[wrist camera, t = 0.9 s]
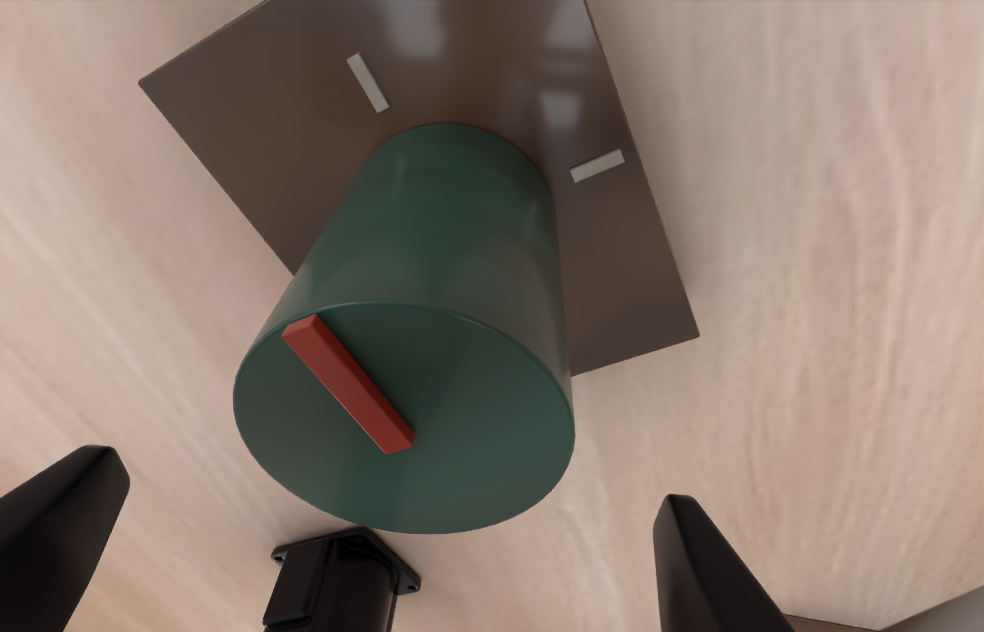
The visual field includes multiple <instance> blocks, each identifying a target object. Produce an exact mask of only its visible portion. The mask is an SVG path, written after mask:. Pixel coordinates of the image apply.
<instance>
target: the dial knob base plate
mask: <svg viewBox="0 0 984 632" xmlns="http://www.w3.org/2000/svg"><path fill="white" fill-rule="evenodd" d="M138 84H139V86H140V87H141V88H142V90H143V91H144V92H145V93H146V95H147V96H148V97H149V98H150V100H151V101H152V102H153V103H154V104H155V106H156V107H157V108H158V109H159V111H160V112H161V113H162V114H163V116H164V117H165V118H166V119H167V120H168V122H169V123H170V124H171V125H172V127H173V128H174V129H175V130H176V132H177V133H178V134H179V135H180V137H181V138H182V139H183V140H184V141H185V143H186V144H187V145H188V146H189V148H190V149H191V150H192V151H193V153H194V154H195V155H196V156H197V157H198V159H199V160H200V161H201V162H202V164H203V165H204V166H205V167H206V169H207V170H208V171H209V172H210V174H211V175H212V176H213V177H214V178H215V180H216V181H217V182H218V183H219V185H220V186H221V187H222V188H223V190H224V191H225V192H226V193H227V194H228V196H229V197H230V198H231V199H232V201H233V202H234V203H235V204H236V206H237V207H238V208H239V209H240V211H241V212H242V213H243V214H244V215H245V217H246V218H247V219H248V220H249V222H250V223H251V224H252V225H253V227H254V228H255V229H256V230H257V231H258V233H259V234H260V235H261V236H262V238H263V239H264V240H265V241H266V243H267V244H268V245H269V246H270V248H271V249H272V250H273V251H274V252H275V254H276V255H277V256H278V257H279V259H280V260H281V261H282V262H283V264H284V265H285V266H286V267H287V268H288V270H289V271H290V272H291V273H292V275H293V276H295V274H296V273H297V271H298V270H299V268H300V266H301V265H302V263H303V261H304V260H305V258H306V257H307V255H308V253H309V252H310V250H311V248H312V247H313V245H314V244H315V242H316V240H317V239H318V237H319V235H320V234H321V232H322V231H323V229H324V227H325V226H326V224H327V223H328V221H329V219H330V218H331V216H332V214H333V213H334V211H335V210H336V208H337V206H338V205H339V203H340V201H341V200H342V198H343V197H344V195H345V193H346V192H347V190H348V189H349V187H350V185H351V184H352V182H353V180H354V179H355V177H356V176H357V174H358V172H359V171H360V169H361V168H362V166H363V165H364V163H365V162H366V160H367V159H368V158H369V157H370V156H371V155H372V153H373V152H374V151H375V150H376V149H378V148H379V147H380V146H381V145H383V144H384V143H385V142H386V141H388V140H390V139H391V138H393V137H395V136H396V135H398V134H401V133H403V132H405V131H408V130H410V129H414V128H418V127H421V126H425V125H434V124H458V125H465V126H471V127H475V128H478V129H481V130H485V131H487V132H490V133H492V134H494V135H497V136H499V137H501V138H502V139H504V140H506V141H507V142H509V143H511V144H512V145H513V146H515V147H516V148H517V149H519V150H520V151H521V152H522V153H524V154H525V155H526V157H527V158H528V159H529V160H530V161H531V162H532V163H533V164H534V165H535V166H536V168H537V169H538V171H539V172H540V173H541V175H542V176H543V178H544V180H545V182H546V184H547V186H548V187H549V190H550V193H551V196H552V198H553V202H554V207H555V211H556V222H557V233H558V244H559V255H560V266H561V277H562V288H563V299H564V310H565V321H566V332H567V343H568V354H569V365H570V376H571V377H572V376H575V375H579V374H582V373H585V372H588V371H592V370H595V369H598V368H601V367H604V366H608V365H611V364H614V363H617V362H621V361H624V360H627V359H630V358H633V357H637V356H640V355H643V354H646V353H650V352H653V351H656V350H659V349H663V348H666V347H669V346H672V345H675V344H679V343H682V342H685V341H688V340H692V339H695V338H698V337H700V333H699V330H698V327H697V324H696V321H695V318H694V315H693V312H692V309H691V306H690V303H689V300H688V297H687V294H686V291H685V289H684V286H683V283H682V280H681V277H680V274H679V271H678V268H677V265H676V262H675V259H674V256H673V253H672V250H671V247H670V244H669V242H668V239H667V236H666V233H665V230H664V227H663V224H662V221H661V218H660V215H659V212H658V209H657V206H656V203H655V200H654V198H653V195H652V192H651V189H650V186H649V183H648V180H647V177H646V174H645V171H644V168H643V165H642V162H641V159H640V156H639V153H638V151H637V148H636V145H635V142H634V139H633V136H632V133H631V130H630V127H629V124H628V121H627V118H626V115H625V112H624V109H623V107H622V104H621V101H620V98H619V95H618V92H617V89H616V86H615V83H614V80H613V77H612V74H611V71H610V68H609V65H608V62H607V60H606V57H605V54H604V51H603V48H602V45H601V42H600V39H599V36H598V33H597V30H596V27H595V24H594V21H593V18H592V16H591V13H590V10H589V7H588V4H587V1H586V0H264V1H262V2H261V3H259V4H258V5H256V6H255V7H253V8H251V9H250V10H248V11H247V12H245V13H244V14H242V15H240V16H239V17H237V18H236V19H234V20H233V21H231V22H229V23H228V24H226V25H225V26H223V27H222V28H220V29H218V30H217V31H215V32H214V33H212V34H211V35H209V36H208V37H206V38H204V39H203V40H201V41H200V42H198V43H197V44H195V45H193V46H192V47H190V48H189V49H187V50H186V51H184V52H182V53H181V54H179V55H178V56H176V57H175V58H173V59H171V60H170V61H168V62H167V63H165V64H164V65H162V66H160V67H159V68H157V69H156V70H154V71H153V72H151V73H149V74H148V75H146V76H145V77H143V78H142V79H140V80H139V81H138Z"/></svg>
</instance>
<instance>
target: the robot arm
mask: <svg viewBox="0 0 984 632" xmlns="http://www.w3.org/2000/svg"><path fill="white" fill-rule="evenodd" d="M129 487H130V477H129V474H128V473H127V471H126V469H125V467H124V465H123V463H122V461H121V459H120V457H119V455H118V453H117V451H116V450H115V449H114V448H112V447H110V446H101V445H85V446H82V447H80V448H78V449H77V450H75V451H73V452H72V453H70V454H69V455H67V456H66V457H64V458H62V459H61V460H59V461H58V462H56V463H55V464H53V465H51V466H50V467H48V468H47V469H45V470H44V471H42V472H40V473H39V474H37V475H36V476H34V477H32V478H31V479H29V480H28V481H26V482H25V483H23V484H21V485H20V486H18V487H17V488H15V489H14V490H12V491H10V492H9V493H7V494H6V495H4V496H3V497H1V498H0V632H63V630H64V628H65V627H66V625H67V623H68V621H69V619H70V618H71V616H72V614H73V612H74V610H75V608H76V607H77V605H78V603H79V601H80V599H81V597H82V595H83V594H84V592H85V590H86V588H87V586H88V584H89V582H90V580H91V578H92V576H93V573H94V571H95V569H96V567H97V565H98V562H99V560H100V557H101V555H102V553H103V550H104V548H105V546H106V543H107V541H108V539H109V536H110V534H111V532H112V529H113V527H114V525H115V522H116V520H117V518H118V515H119V513H120V510H121V508H122V506H123V503H124V501H125V499H126V496H127V494H128V491H129ZM653 542H654V553H655V565H656V577H657V588H658V600H659V612H660V622H661V631H662V632H796V630H795V629H794V628H793V626H792V625H791V624H790V623H789V621H788V620H787V619H786V617H785V616H784V615H783V613H782V612H781V611H780V609H779V608H778V607H777V606H776V604H775V603H774V602H773V600H772V599H771V598H770V596H769V595H768V594H767V592H766V591H765V590H764V588H763V587H762V586H761V585H760V583H759V582H758V581H757V579H756V578H755V577H754V575H753V574H752V573H751V571H750V570H749V569H748V568H747V566H746V565H745V564H744V562H743V561H742V560H741V558H740V557H739V556H738V554H737V553H736V552H735V550H734V549H733V548H732V547H731V545H730V544H729V543H728V541H727V540H726V539H725V537H724V536H723V535H722V533H721V532H720V531H719V529H718V528H717V527H716V526H715V524H714V523H713V522H712V520H711V519H710V518H709V516H708V515H707V514H706V512H705V511H704V510H703V509H702V507H701V506H700V505H699V503H698V502H697V501H696V500H695V499H694V498H693V497H691V496H688V495H677V494H668V495H667V496H666V497H665V498H664V500H663V503H662V505H661V507H660V510H659V512H658V514H657V517H656V519H655V522H654V526H653ZM271 559H272V560H273V561H274V562H275V563H277V564H278V565H279V566H280V567H282V568H281V571H280V574H279V576H278V579H277V582H276V584H275V587H274V590H273V593H272V595H271V598H270V601H269V603H268V606H267V609H266V612H265V614H264V617H263V622H262V624H263V625H264V626H265V629H264V632H391V628H392V623H393V618H394V612H395V607H396V601H397V596H398V595H403V594H408V593H413V592H417V591H419V590H420V586H421V580H420V579H419V578H418V577H417V576H416V575H415V574H414V573H413V572H412V571H411V570H410V569H409V568H407V567H406V566H405V565H404V564H403V563H402V562H401V561H400V560H399V559H398V558H397V557H396V556H395V555H394V554H393V553H392V552H391V551H390V550H389V549H388V548H387V547H386V546H385V545H384V544H383V543H381V542H380V541H379V540H378V539H377V538H376V537H375V536H374V535H373V534H372V533H371V532H370V531H369V530H368V529H366V528H363V527H355V528H351V529H347V530H343V531H339V532H336V533H332V534H328V535H324V536H320V537H316V538H312V539H308V540H304V541H300V542H296V543H292V544H289V545H285V546H281V547H277V548H274V550H273V552H272V554H271Z"/></svg>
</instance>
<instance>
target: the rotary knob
mask: <svg viewBox="0 0 984 632" xmlns="http://www.w3.org/2000/svg"><path fill="white" fill-rule="evenodd" d="M233 410H234V415H235V419H236V424H237V427H238V429H239V432H240V434H241V437H242V439H243V441H244V443H245V444H246V446H247V448H248V450H249V451H250V453H251V454H252V456H253V457H254V458H255V459H256V461H257V462H258V463H259V465H260V466H261V467H262V468H263V469H264V470H265V471H266V472H267V473H268V474H269V475H270V476H271V477H272V478H273V479H274V480H275V481H277V482H278V483H279V484H280V485H282V486H283V487H284V488H285V489H286V490H288V491H289V492H291V493H292V494H294V495H295V496H297V497H298V498H300V499H301V500H303V501H305V502H307V503H309V504H310V505H312V506H314V507H316V508H318V509H320V510H322V511H324V512H327V513H329V514H331V515H333V516H336V517H339V518H341V519H344V520H347V521H350V522H353V523H356V524H360V525H364V526H367V527H371V528H376V529H381V530H386V531H392V532H400V533H409V534H448V533H458V532H465V531H471V530H476V529H481V528H484V527H488V526H491V525H495V524H498V523H501V522H503V521H506V520H508V519H511V518H513V517H515V516H517V515H519V514H521V513H523V512H525V511H526V510H528V509H529V508H531V507H532V506H534V505H535V504H537V503H538V502H540V501H541V500H542V499H543V498H544V497H545V496H546V495H547V494H548V493H550V492H551V491H552V489H553V488H554V487H555V486H556V484H557V483H558V482H559V481H560V479H561V478H562V476H563V474H564V472H565V471H566V469H567V467H568V465H569V462H570V459H571V456H572V453H573V450H574V442H575V421H574V410H573V398H572V387H571V376H570V365H569V354H568V343H567V332H566V321H565V310H564V299H563V288H562V277H561V266H560V255H559V244H558V233H557V222H556V211H555V207H554V202H553V198H552V196H551V193H550V190H549V187H548V186H547V184H546V182H545V180H544V178H543V176H542V175H541V173H540V172H539V171H538V169H537V168H536V166H535V165H534V164H533V163H532V162H531V161H530V160H529V159H528V158H527V157H526V155H525V154H524V153H522V152H521V151H520V150H519V149H517V148H516V147H515V146H513V145H512V144H511V143H509V142H507V141H506V140H504V139H502V138H501V137H499V136H497V135H494V134H492V133H490V132H487V131H485V130H481V129H478V128H475V127H471V126H465V125H458V124H434V125H425V126H421V127H418V128H414V129H410V130H408V131H405V132H403V133H401V134H398V135H396V136H395V137H393V138H391V139H390V140H388V141H386V142H385V143H384V144H383V145H381V146H380V147H379V148H378V149H376V150H375V151H374V152H373V153H372V155H371V156H370V157H369V158H368V159H367V160H366V162H365V163H364V165H363V166H362V168H361V169H360V171H359V172H358V174H357V176H356V177H355V179H354V180H353V182H352V184H351V185H350V187H349V189H348V190H347V192H346V193H345V195H344V197H343V198H342V200H341V201H340V203H339V205H338V206H337V208H336V210H335V211H334V213H333V214H332V216H331V218H330V219H329V221H328V223H327V224H326V226H325V227H324V229H323V231H322V232H321V234H320V235H319V237H318V239H317V240H316V242H315V244H314V245H313V247H312V248H311V250H310V252H309V253H308V255H307V257H306V258H305V260H304V261H303V263H302V265H301V266H300V268H299V270H298V271H297V273H296V274H295V276H294V278H293V279H292V281H291V282H290V284H289V286H288V287H287V289H286V291H285V292H284V294H283V295H282V297H281V299H280V300H279V302H278V304H277V305H276V307H275V308H274V310H273V312H272V313H271V315H270V317H269V318H268V320H267V321H266V323H265V325H264V326H263V328H262V329H261V331H260V333H259V334H258V336H257V338H256V339H255V341H254V342H253V344H252V346H251V347H250V349H249V351H248V352H247V354H246V355H245V357H244V359H243V360H242V362H241V365H240V367H239V370H238V372H237V375H236V378H235V384H234V389H233Z"/></svg>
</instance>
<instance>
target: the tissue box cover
mask: <svg viewBox="0 0 984 632" xmlns="http://www.w3.org/2000/svg"><path fill="white" fill-rule="evenodd" d="M784 616H785V617H786V619H787V620H788V621H789V623H790V624H791V625H792V626H793V628H794V629H795V630H796V632H877V631H871V630H866V629H860V628H855V627H849V626H843V625H838V624H832V623H827V622H821V621H816V620H810V619H805V618H799V617H793V616H788V615H784Z"/></svg>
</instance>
